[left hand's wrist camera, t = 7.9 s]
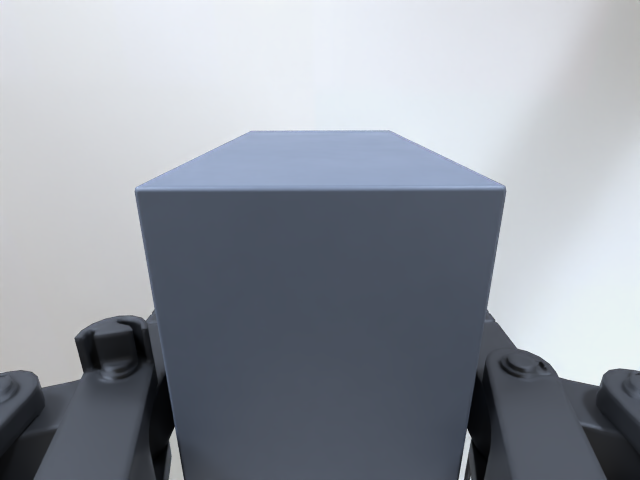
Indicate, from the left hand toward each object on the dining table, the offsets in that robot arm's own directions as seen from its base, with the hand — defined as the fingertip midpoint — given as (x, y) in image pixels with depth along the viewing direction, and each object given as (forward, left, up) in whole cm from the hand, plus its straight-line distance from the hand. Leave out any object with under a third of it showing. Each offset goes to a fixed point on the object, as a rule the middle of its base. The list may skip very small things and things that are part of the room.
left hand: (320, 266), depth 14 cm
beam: (+7, -21, -1) cm, 22 cm away
